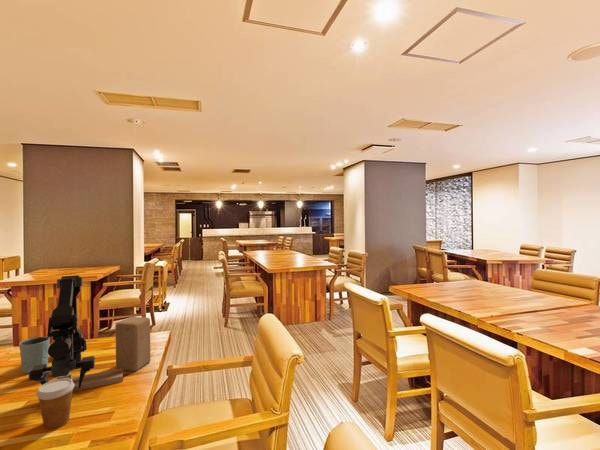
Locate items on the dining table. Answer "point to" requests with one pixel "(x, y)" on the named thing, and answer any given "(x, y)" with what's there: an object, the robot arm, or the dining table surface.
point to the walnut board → (98, 379)
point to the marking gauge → (65, 376)
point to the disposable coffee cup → (55, 402)
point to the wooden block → (132, 343)
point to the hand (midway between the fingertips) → (64, 390)
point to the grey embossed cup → (34, 352)
